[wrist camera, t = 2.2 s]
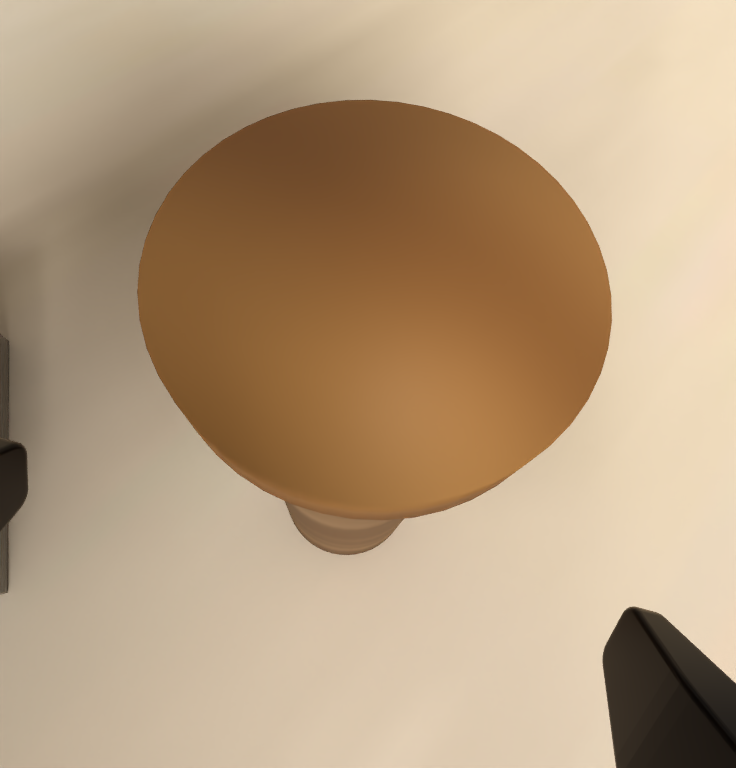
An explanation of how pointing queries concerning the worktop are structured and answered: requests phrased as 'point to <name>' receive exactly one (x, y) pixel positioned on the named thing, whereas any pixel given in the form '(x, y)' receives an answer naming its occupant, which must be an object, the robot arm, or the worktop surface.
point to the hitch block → (1, 431)
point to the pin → (373, 311)
